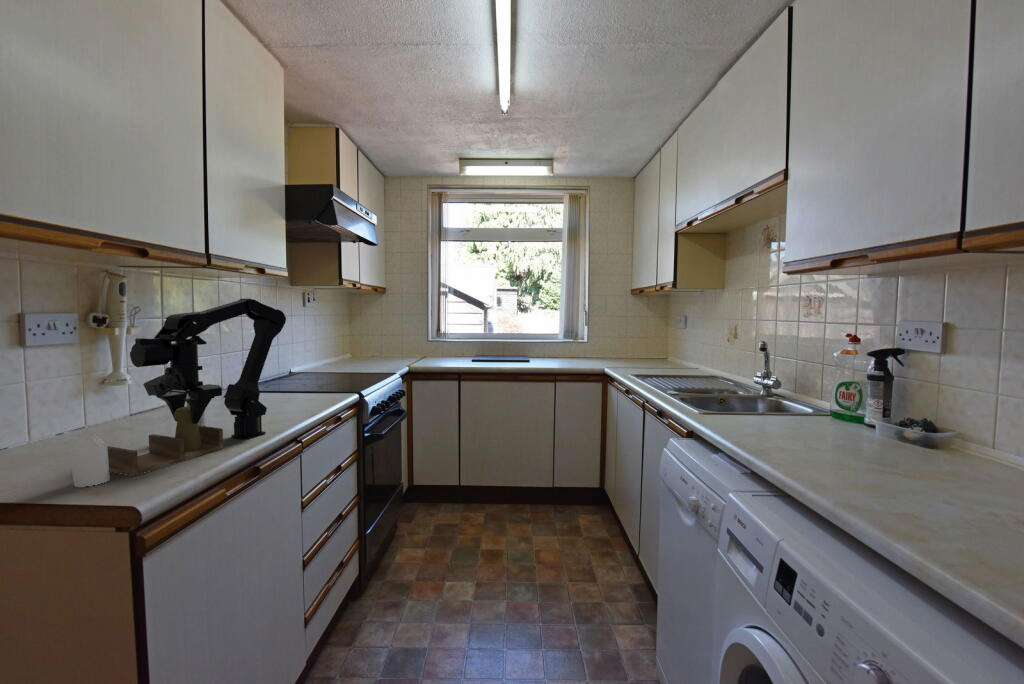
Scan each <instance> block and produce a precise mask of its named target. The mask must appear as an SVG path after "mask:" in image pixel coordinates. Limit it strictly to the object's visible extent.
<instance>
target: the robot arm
mask: <svg viewBox="0 0 1024 684" xmlns="http://www.w3.org/2000/svg"><path fill="white" fill-rule="evenodd" d="M242 315H243V316H244V315H245V316H246V317H247V318H249V319H250V320H252V321H253V324H252V325H253V330H254V337H253V341H252V343H251V345H250V347H249V351H248V355H247V357H246V360H245V362H244V365H243V368H242V370H241V374H240V377H239V379H238V380H237V381H236V383H233V384H232V383H229V384H227V388H226V392H225V394H224V396H223V388H222V387H221V385H219V384H211V383H210V384H204V381H201V380H200V379H199V378H200V375H199V373H200V372H199V371H202V370H203V365H199V348H198V346H200V345H201V346H202V345H207V343H208V342H207V341H205V339H203V338H201V336H200V335H199V334H201V333H203V332H206V331H207V330H208V329H209V328H210V327H211V326H213V325H216V324H219V323H221V322H225V321H228V320H230V319H234V318H236V317H237V318H238V317H240V316H242ZM286 323H287V316H285V313H284V311H282V310H281V309H275V308H274V307H271V306H268V305H266V304H264V303H261V302H260V301H259V300H256V299H254V298H240V299H238V300H235V301H232V302H229V303H225V304H222V305H219V306H215V307H212V308H208V309H205V310H201V311H193V312H183V313H174V314H173V313H172V314H170V315H168V316H166V318H165V320H164V324H163V326H162V327H161V329H160V330H159V331H158V332H157V333H156V335H155V336H154V338H145V337H144V338H142V337H141V338H135V339H134V340H135V341H134V344H133V345H132V347H131V350H130V351H129V357H130V361H131V363H132V365H133V366H135V367H136V368H144V367H155V366H166V365H168V364H169V363H170V364H169V365H170V366H169V367H166V368H165V369H164V374H162V375H159V376H157V377H154V378H152V379H149V380H147V381H146V382H144V383H143V387H144V389H145V391H146V392H147V393H146V394H147V395H148V396H149V397H151V396H155V397H156V398H157V399H160V400H162V401H164V402H165V403H166V405H167V406H168V409H169V411H170V413H171V414H172V417H173V419H174V421H175V422H176V423H177V420H176V419H175V417H174V413H175V411H176V409H178V408H181V407H186V406H185V405H186V404H187V403H188V404H190V410H191V417H192V422H193V424H197V423H198V422H199V420H200V418H201V416H202V415H203V413H204V411H205V412H206V410H207V409H206V408H207V407H208V406H209V404H210V403H211V401H212V400H213V399H215V398H216V397H220V396H223V397H222V398H223V399H224V402H223V403H224V406H225V407H226V409H227V410H228V411H229V413H230V415H231V416H234V422H233V434H231V435H230V436H231V438H236V439H244V440H248V439H252V438H255V437H259V436H262V435H265V434H266V431H263V430H262V429H263V428H262V427H263V426H262V416H265V415H266V413H267V410H268V407H267V406H265V405H264V404H263V403H262V402H260V395H261V393H260V388H259V380H260V379H261V376H262V372H263V369H264V366H265V364H266V361H267V358H268V355H269V352H270V349H271V347H272V346H271V345H272V343H273V340H274V339H275V338H276V337H277V336H278V335H279V334H280V333H281V332H282V329H283V328H284V326H285V325H286ZM172 342H173V343H172ZM187 394H188V396H189V397H190V398H189V399H186V397H187Z"/></svg>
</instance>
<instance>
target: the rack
mask: <svg viewBox="0 0 1024 684" xmlns="http://www.w3.org/2000/svg"><path fill="white" fill-rule="evenodd" d="M198 428H199V433H200V438H201V444H202V448H200V449H198V450H194V451H189V452H184V439H182V438H175V436H167V435H160V434H155V433H153V434H148V451H149V452H148V453H147V452H146V453H144V454H140V455H138V451H137V450H133V449H127V448H121V447H114V446H109V445H107V448H108V461H109V471H110V472H109V473H112V472H116V473H115V474H117V473H122V474H127V475H131V476H130V477H132V476H134V475H137V474H140V475H142V474H141V473H143V474H145V473H144V472H146V473H149V472H148V471H150V472H152V470H153V471H155V469H156V470H159V469H162V468H161V467H163V468H165V466H166V467H168V465H169V466H172V465H175V464H178V462H179V463H182V462H184V460H185V461H188V460H191V459H190V458H192V459H194V458H193V457H195V458H197V457H196V456H198V457H200V455H201V456H204V455H208V454H211V453H213V452H216V451H219V450H220V449H221V450H223V449H224V434H223V431H224V429H223V428H221V427H212V426H206V425H205V426H199V425H198ZM210 452H211V453H210ZM207 453H208V454H207ZM203 454H204V455H203ZM187 459H188V460H187ZM181 461H182V462H181ZM174 463H175V464H174ZM171 464H172V465H171ZM158 468H159V469H158ZM122 474H121V475H122ZM127 475H126V476H127ZM137 476H138V475H137ZM134 477H135V476H134Z"/></svg>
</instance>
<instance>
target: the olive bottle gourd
mask: <svg viewBox="0 0 1024 684" xmlns="http://www.w3.org/2000/svg"><path fill="white" fill-rule="evenodd" d="M174 417H175V419H176V420H177V422H176V426H175V427H176V428H175V434H174V437H175V438H182V439H184V452H189V451H194V450H198V449H200V448H202V444H201V438H200V433H199V428H198V423H197V424H193V422H192V417H191V410H190V406H187V405H186V406H184V407H181V408H178V409H176V411H175V413H174ZM174 417H173V418H174Z"/></svg>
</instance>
